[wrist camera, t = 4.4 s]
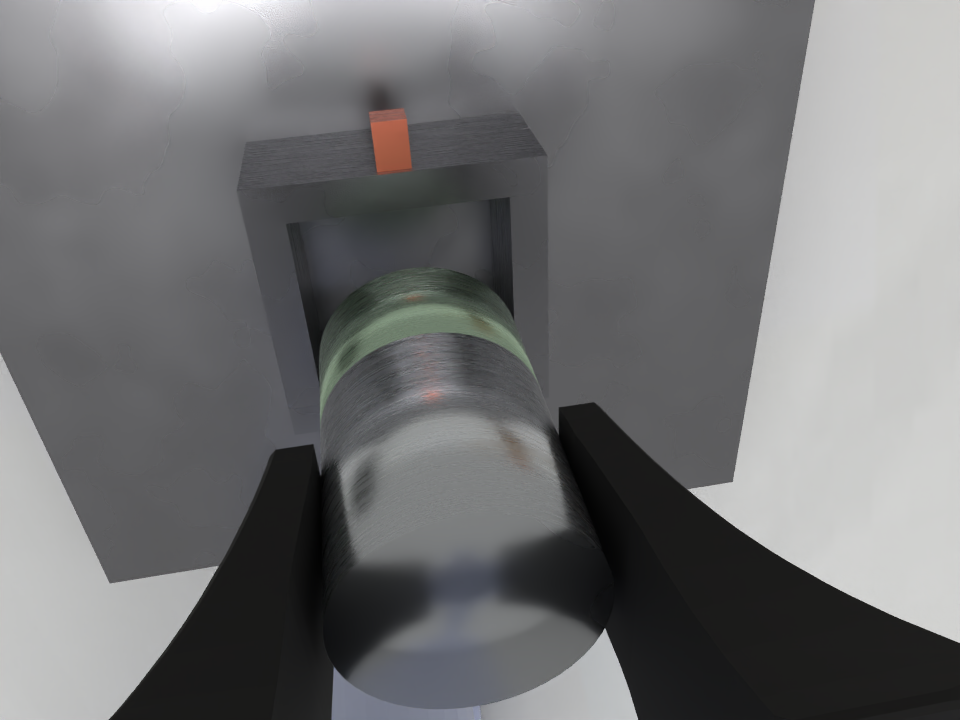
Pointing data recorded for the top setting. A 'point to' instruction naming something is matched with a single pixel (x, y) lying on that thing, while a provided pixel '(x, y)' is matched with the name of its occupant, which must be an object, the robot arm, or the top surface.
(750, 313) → the post base
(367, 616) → the grey cylindrical jar
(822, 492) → the top surface
